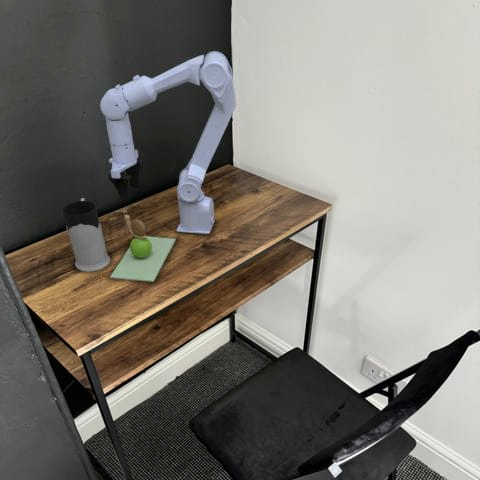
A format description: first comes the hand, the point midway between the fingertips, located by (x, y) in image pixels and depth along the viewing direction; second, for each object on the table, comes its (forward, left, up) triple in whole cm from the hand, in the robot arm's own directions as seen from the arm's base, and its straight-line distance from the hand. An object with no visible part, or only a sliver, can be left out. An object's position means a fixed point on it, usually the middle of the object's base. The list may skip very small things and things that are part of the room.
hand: (130, 193), depth 125 cm
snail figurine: (-6, +15, -10) cm, 19 cm away
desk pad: (-8, +15, -10) cm, 20 cm away
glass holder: (+6, +16, -11) cm, 20 cm away
